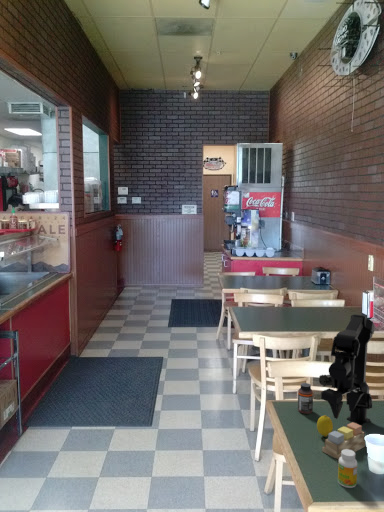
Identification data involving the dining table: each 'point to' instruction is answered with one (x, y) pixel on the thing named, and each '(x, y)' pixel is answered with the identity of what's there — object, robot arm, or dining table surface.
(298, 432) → the dining table surface
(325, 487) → the dining table surface
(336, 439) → the button slate
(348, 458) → the supplement bottle
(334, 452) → the button board
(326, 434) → the lemon
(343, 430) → the button yellow
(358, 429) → the button terracotta
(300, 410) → the supplement bottle
